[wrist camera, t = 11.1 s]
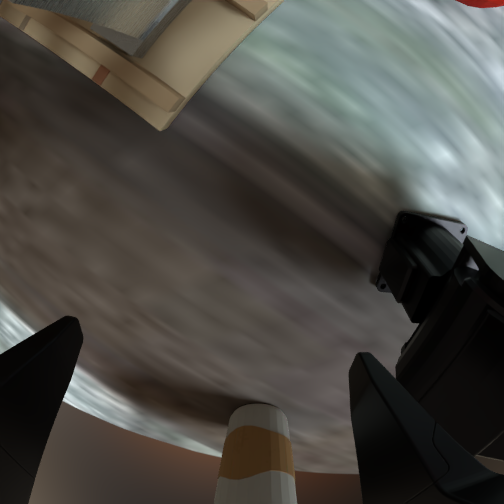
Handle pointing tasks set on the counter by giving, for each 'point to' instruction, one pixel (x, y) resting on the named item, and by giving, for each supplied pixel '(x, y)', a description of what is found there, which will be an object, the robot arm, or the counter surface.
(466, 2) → the tomato
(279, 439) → the coffee cup
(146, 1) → the fader knob
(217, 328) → the counter surface
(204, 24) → the fader track
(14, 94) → the counter surface
